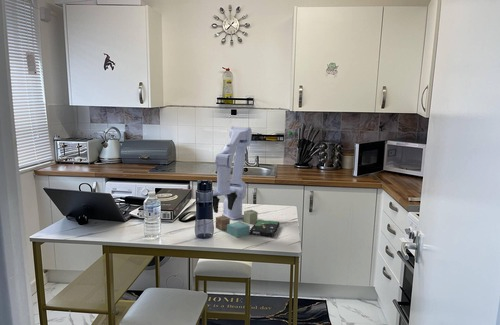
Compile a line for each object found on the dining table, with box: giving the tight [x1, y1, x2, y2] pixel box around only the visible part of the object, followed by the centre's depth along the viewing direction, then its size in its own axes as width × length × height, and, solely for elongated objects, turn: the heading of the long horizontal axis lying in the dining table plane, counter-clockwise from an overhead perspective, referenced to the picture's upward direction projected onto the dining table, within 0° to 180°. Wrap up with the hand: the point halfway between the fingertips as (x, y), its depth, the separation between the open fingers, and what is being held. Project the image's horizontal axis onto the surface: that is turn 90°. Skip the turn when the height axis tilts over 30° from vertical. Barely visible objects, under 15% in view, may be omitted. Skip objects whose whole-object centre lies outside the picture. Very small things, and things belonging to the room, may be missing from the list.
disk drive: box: [249, 219, 280, 239], centre depth 170 cm, size 10×3×15 cm
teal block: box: [226, 220, 251, 238], centre depth 165 cm, size 7×7×4 cm
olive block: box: [243, 209, 259, 225], centre depth 180 cm, size 4×4×5 cm
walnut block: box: [215, 215, 231, 232], centre depth 170 cm, size 4×4×5 cm
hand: (222, 210), depth 169 cm, fingers open, 7 cm apart
